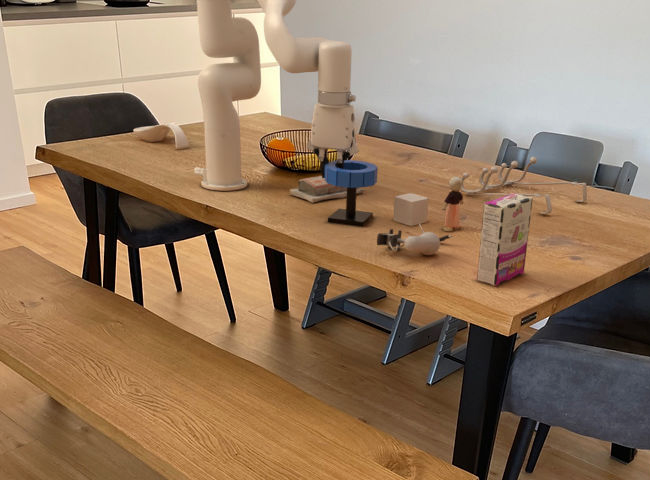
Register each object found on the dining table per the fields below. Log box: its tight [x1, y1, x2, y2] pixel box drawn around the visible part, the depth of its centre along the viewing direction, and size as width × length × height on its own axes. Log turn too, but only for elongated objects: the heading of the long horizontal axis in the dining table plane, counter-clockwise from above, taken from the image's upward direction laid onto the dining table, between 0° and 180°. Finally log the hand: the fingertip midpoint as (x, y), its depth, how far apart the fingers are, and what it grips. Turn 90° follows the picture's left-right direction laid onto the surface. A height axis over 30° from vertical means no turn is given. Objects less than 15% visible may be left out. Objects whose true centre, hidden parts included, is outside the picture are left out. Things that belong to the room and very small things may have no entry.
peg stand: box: [327, 187, 374, 228], centre depth 201 cm, size 9×9×11 cm
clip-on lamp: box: [376, 223, 453, 256], centre depth 183 cm, size 12×6×18 cm
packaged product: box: [289, 175, 364, 203], centre depth 223 cm, size 18×5×10 cm
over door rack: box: [460, 156, 588, 215], centre depth 226 cm, size 22×29×10 cm
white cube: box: [392, 192, 430, 227], centre depth 203 cm, size 6×6×6 cm
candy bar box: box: [476, 192, 534, 287], centre depth 167 cm, size 11×5×16 cm, turn 138°
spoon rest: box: [132, 122, 189, 150], centre depth 272 cm, size 24×12×7 cm, turn 47°
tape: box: [325, 159, 379, 189], centre depth 198 cm, size 12×12×4 cm
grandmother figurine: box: [441, 175, 465, 232], centre depth 197 cm, size 8×4×13 cm, turn 148°
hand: (331, 176), depth 200 cm, fingers closed on tape, 2 cm apart
